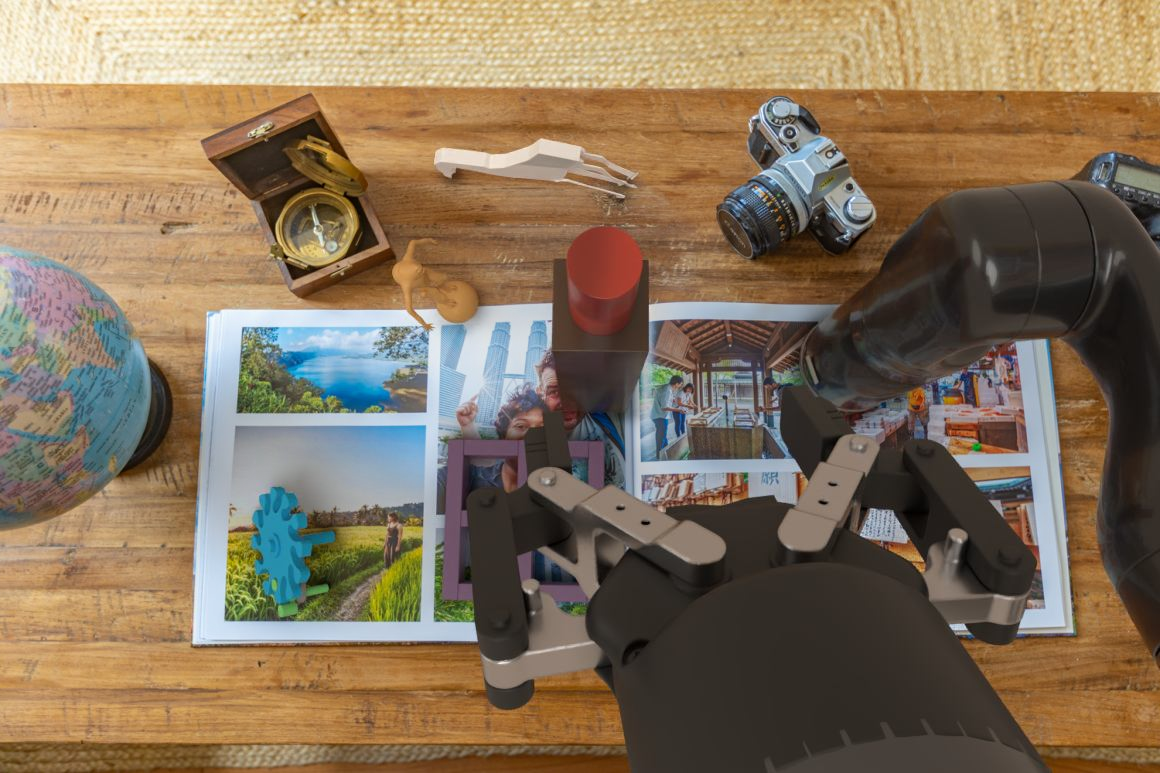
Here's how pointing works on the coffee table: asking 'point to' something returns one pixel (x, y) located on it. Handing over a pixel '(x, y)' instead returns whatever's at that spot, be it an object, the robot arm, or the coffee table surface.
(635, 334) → the stand
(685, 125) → the coffee table surface
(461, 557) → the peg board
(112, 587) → the coffee table surface
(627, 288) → the red cylinder
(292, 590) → the gear
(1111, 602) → the coffee table surface
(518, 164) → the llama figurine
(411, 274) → the figurine
